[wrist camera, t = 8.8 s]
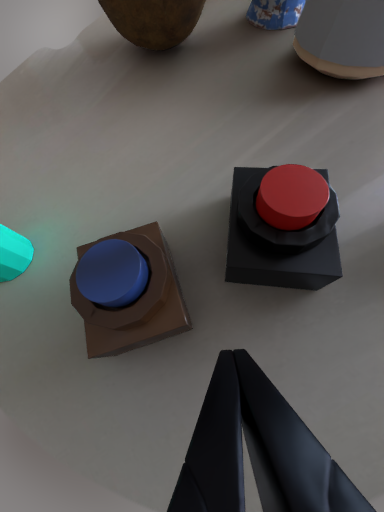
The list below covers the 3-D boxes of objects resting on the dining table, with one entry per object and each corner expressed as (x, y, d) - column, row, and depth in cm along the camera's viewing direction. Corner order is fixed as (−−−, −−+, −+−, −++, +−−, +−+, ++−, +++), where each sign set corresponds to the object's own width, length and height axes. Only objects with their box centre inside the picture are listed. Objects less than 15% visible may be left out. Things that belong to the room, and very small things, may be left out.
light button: (320, 233, 17) (333, 218, 15) (255, 228, 18) (259, 214, 16) (314, 182, 19) (325, 164, 17) (256, 180, 19) (260, 163, 17)
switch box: (316, 290, 21) (357, 269, 15) (224, 282, 22) (228, 258, 16) (308, 199, 25) (337, 153, 19) (231, 196, 26) (235, 152, 20)
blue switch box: (193, 329, 21) (184, 322, 15) (114, 356, 21) (73, 360, 15) (167, 242, 25) (151, 209, 19) (100, 264, 24) (63, 238, 19)
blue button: (155, 295, 16) (147, 289, 14) (94, 316, 16) (78, 312, 14) (142, 242, 18) (133, 230, 16) (87, 260, 18) (72, 250, 16)
